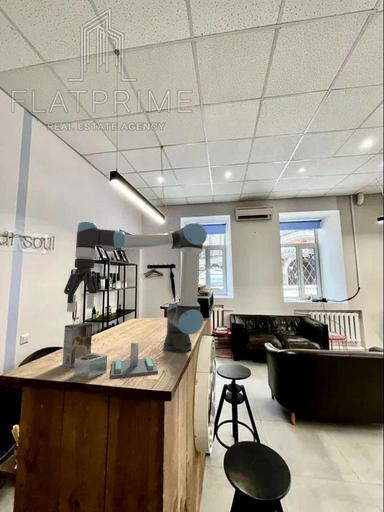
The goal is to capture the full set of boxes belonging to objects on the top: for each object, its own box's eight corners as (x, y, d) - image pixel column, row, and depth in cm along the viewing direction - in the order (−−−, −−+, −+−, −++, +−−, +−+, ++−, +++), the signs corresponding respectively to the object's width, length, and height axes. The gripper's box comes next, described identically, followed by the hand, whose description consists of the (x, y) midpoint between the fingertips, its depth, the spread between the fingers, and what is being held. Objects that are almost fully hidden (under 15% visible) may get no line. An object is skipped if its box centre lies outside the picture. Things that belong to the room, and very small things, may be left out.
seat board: (152, 360, 103) (153, 337, 104) (158, 373, 88) (158, 346, 89) (112, 363, 98) (113, 339, 99) (110, 378, 83) (112, 349, 84)
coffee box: (82, 359, 104) (84, 322, 106) (90, 361, 100) (93, 323, 102) (61, 364, 96) (64, 325, 98) (70, 367, 93) (73, 326, 95)
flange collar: (92, 368, 92) (93, 352, 93) (106, 371, 89) (107, 355, 90) (73, 375, 85) (75, 357, 86) (88, 379, 82) (89, 361, 83)
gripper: (92, 261, 110) (88, 307, 108) (56, 254, 86) (51, 313, 83) (107, 261, 110) (104, 307, 107) (75, 254, 85) (70, 313, 82)
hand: (81, 310), depth 95 cm, fingers open, 13 cm apart
